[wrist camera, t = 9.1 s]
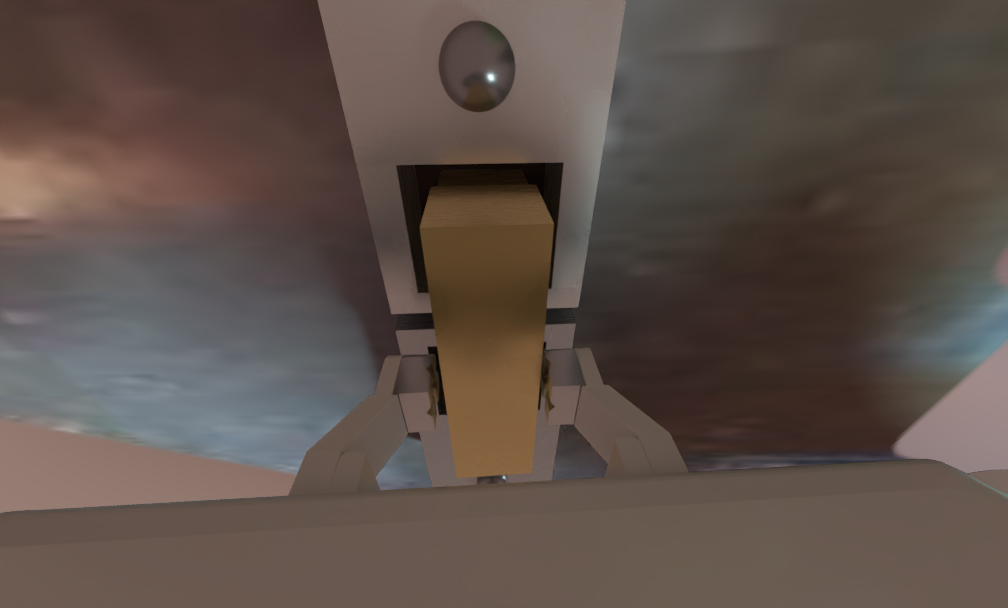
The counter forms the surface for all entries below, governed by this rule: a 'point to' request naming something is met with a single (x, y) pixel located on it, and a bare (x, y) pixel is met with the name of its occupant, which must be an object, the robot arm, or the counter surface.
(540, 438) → the gray windowed bar
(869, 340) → the counter surface
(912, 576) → the robot arm
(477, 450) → the tan bridge block
